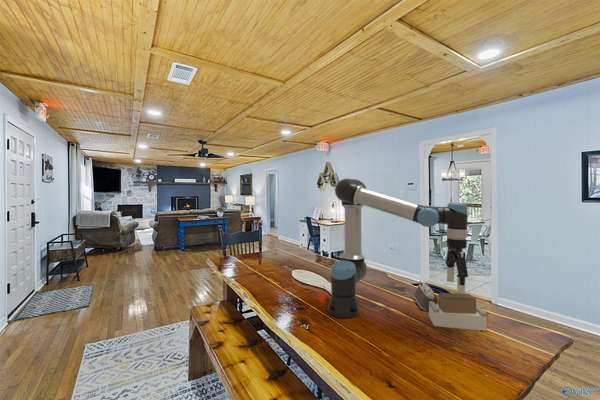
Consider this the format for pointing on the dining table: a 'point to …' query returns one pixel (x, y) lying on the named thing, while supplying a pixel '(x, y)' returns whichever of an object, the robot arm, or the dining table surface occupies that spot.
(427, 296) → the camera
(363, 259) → the robot arm
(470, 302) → the case
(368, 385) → the dining table surface
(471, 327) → the stand
